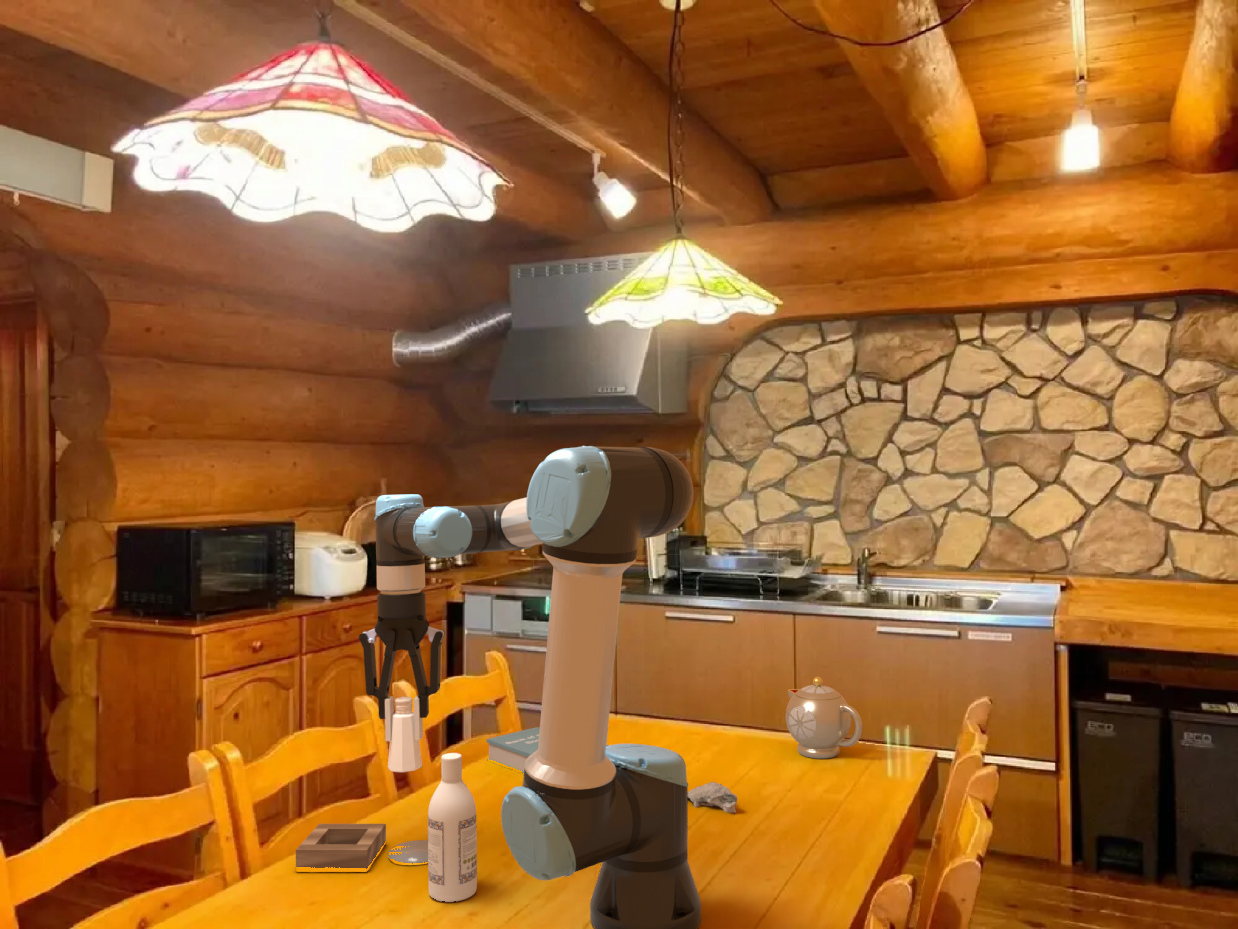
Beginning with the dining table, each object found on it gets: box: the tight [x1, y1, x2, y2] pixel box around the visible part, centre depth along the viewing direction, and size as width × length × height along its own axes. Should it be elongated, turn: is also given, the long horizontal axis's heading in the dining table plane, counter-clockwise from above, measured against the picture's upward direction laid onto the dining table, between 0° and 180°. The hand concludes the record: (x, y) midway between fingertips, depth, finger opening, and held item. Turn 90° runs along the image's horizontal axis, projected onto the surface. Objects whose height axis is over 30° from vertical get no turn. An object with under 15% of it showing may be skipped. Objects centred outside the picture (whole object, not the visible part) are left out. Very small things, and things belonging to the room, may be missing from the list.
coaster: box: [387, 839, 428, 864], centre depth 158 cm, size 9×9×1 cm
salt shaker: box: [387, 696, 423, 773], centre depth 157 cm, size 5×5×11 cm
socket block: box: [295, 823, 387, 869], centre depth 157 cm, size 11×11×4 cm
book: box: [486, 726, 609, 773], centre depth 205 cm, size 23×16×5 cm
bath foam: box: [427, 752, 478, 903], centre depth 144 cm, size 7×7×20 cm
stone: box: [688, 781, 738, 814], centre depth 179 cm, size 6×12×4 cm, turn 21°
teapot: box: [785, 676, 863, 760], centre depth 209 cm, size 18×14×16 cm
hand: (404, 738), depth 157 cm, fingers closed on salt shaker, 4 cm apart
